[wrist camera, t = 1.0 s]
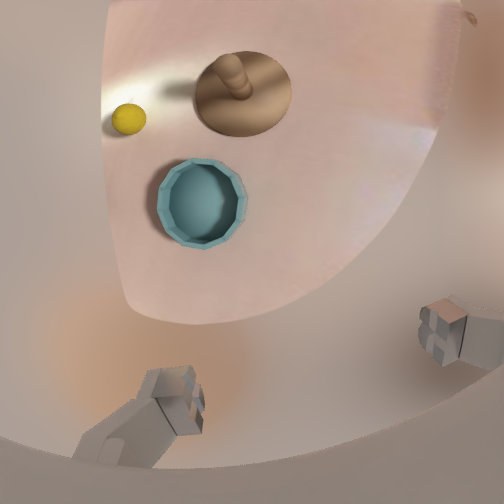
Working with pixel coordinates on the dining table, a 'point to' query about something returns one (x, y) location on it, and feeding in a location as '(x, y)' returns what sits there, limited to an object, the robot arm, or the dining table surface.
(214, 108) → the lid
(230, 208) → the bowl
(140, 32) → the dining table surface
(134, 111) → the lemon
